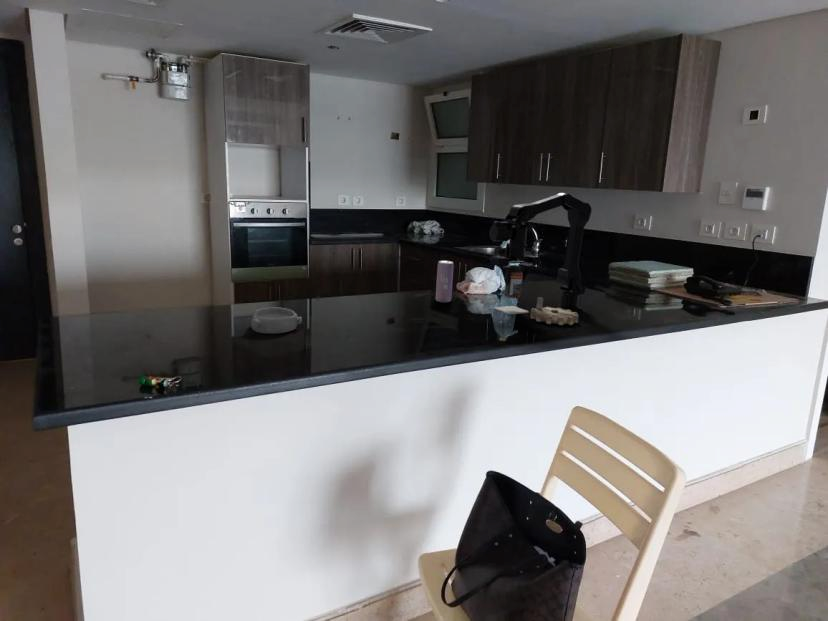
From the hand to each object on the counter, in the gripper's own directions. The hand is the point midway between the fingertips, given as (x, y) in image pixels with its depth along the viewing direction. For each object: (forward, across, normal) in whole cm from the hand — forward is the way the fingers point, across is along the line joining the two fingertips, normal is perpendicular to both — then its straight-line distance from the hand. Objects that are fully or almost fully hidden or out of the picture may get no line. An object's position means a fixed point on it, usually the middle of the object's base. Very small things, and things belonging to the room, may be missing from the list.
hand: (513, 284), depth 206 cm
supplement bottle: (+5, 0, 0) cm, 5 cm away
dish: (+10, +86, -2) cm, 87 cm away
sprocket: (+10, -6, +16) cm, 20 cm away
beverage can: (+10, +16, -21) cm, 28 cm away
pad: (+10, 0, 0) cm, 10 cm away
